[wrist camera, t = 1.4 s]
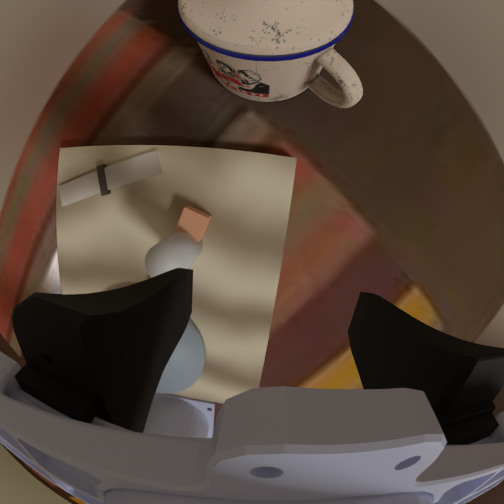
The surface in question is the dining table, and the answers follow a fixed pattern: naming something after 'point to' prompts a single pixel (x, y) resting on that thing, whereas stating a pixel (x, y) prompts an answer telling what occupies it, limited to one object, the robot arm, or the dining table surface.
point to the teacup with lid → (274, 46)
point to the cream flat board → (164, 224)
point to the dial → (191, 343)
